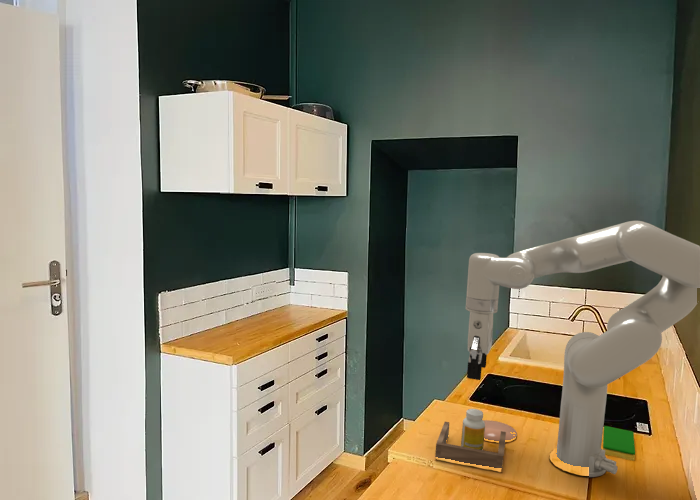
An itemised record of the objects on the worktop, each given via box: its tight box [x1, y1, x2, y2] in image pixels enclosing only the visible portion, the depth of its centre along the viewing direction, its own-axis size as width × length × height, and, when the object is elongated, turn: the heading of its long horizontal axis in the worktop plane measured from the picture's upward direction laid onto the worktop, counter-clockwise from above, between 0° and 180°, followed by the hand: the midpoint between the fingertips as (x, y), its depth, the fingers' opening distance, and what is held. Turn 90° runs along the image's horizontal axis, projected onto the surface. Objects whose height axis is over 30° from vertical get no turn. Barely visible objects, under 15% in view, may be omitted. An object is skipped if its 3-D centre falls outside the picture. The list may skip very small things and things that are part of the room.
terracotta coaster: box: [482, 419, 518, 441], centre depth 148 cm, size 12×12×1 cm
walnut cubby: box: [434, 421, 506, 469], centre depth 136 cm, size 13×15×4 cm
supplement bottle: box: [460, 408, 485, 450], centre depth 138 cm, size 5×5×10 cm
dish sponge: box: [602, 425, 636, 461], centre depth 143 cm, size 7×14×2 cm, turn 155°
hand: (476, 372), depth 138 cm, fingers open, 9 cm apart
